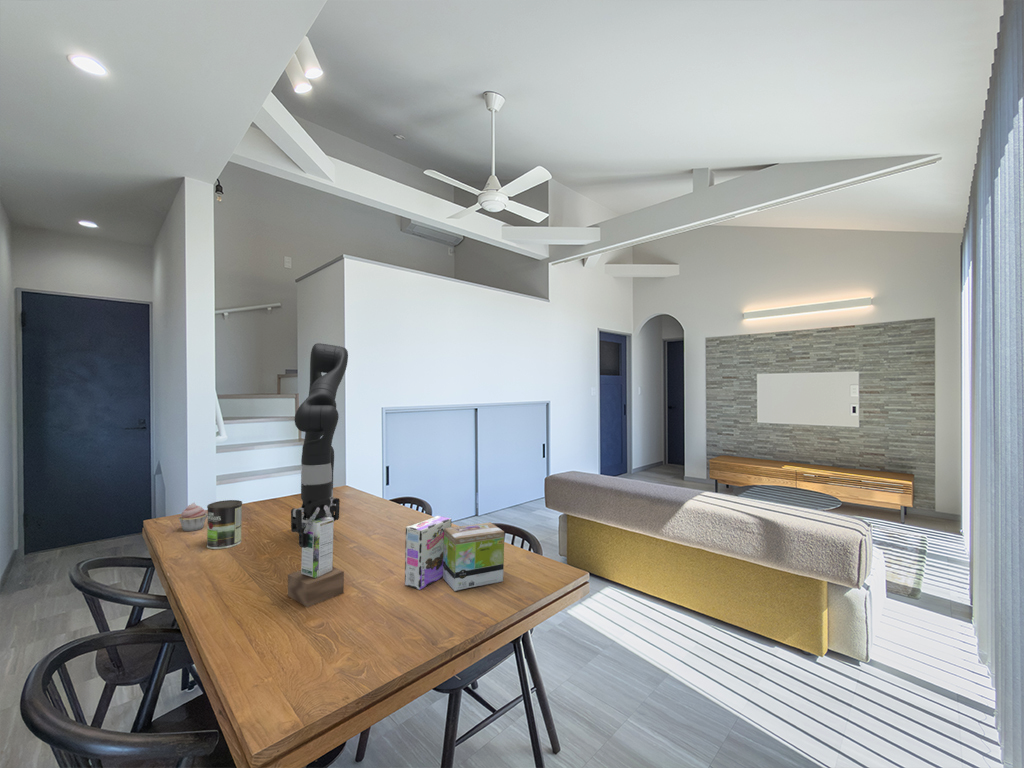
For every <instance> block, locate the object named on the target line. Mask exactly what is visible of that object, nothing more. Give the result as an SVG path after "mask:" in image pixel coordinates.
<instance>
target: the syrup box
mask: <svg viewBox="0 0 1024 768" xmlns="http://www.w3.org/2000/svg"><path fill="white" fill-rule="evenodd" d="M306 520H309V519H307V518H306ZM333 522H334V523H335V521H334V518H330V517H325V516H324V517H323V518H318V519H317V520H314V522H313V524H312V525H310V527H309V530H308V532H307V533H308V547H306V548H303V547H301V569H300V570H301V574H304V575H307V576H310V577H313V578H317V577H320V576H322V575H324V574H326V573H328V572H330V571H332V567H333V561H334V560H333V556H334V554H333V552H334V523H333ZM305 525H306V524H305ZM304 527H305V526H304Z"/></svg>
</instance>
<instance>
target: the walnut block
mask: <svg viewBox="0 0 1024 768" xmlns="http://www.w3.org/2000/svg"><path fill="white" fill-rule="evenodd" d="M344 572H345V571H343V570H341V569H339V568H336V567H334V566H332V571H330V572H328V573H326V574H324V575H322V576H320V577H317V578H313V577H310V576H307V575H304V574H301V569H300V570H299V569H298V570H297V571H294V572H291V573H288V574H287V596H288V597H289V598H291V599H292V600H293V601H295V602H297V603H299V604H301V605H302V606H304V607H306V608H310V607H312V606H314V605H317V604H319V603H322V602H325V601H327V600H330V599H333V598H335V597H337V596H340V595H342V594H344V591H345V590H344V589H345V588H344V585H345V583H344V580H345V579H344V578H345V576H344V575H345V573H344Z"/></svg>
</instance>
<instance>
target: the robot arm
mask: <svg viewBox="0 0 1024 768" xmlns="http://www.w3.org/2000/svg"><path fill="white" fill-rule="evenodd" d="M348 358H349V352H348V349H347V348H346V347H343V346H340V345H334V344H328V343H320V342H318V343H315V344H313V346H312V348H311V351H310V358H309V388H308V389H309V390H308V391H309V392H308V396H307V397H306V399H305V400H304V401H303V402H302V403H301V404H300V405H299V406H298V408H297V410H296V411H295V414H294V425H295V427H296V428H297V430H299V431H301V432H305V433H304V440H303V444H302V452H301V459H300V460H301V470H300V471H301V472H300V500H301V501H302V504H301V507H299V508H292V509H290V525H291V526H290V527H291V529H290V531H291V533H297V534H298V545H299V547H300V548H302V547H303V548H306V547H308V533H307V532H308V530H309V527H310V525H312V524H313V522H314V520H317V519H318V518H323V517H324V516H325V517H330V518H334V522H333V524H335V522H336V521H338V520H340V519H339V518H340V505H341V504H340V501H341V500H340V498H338V497H334V466H335V449H334V447H333V446H332V445H333V438H334V435H335V432H336V428H337V426H338V422H339V419H340V418H339V417H340V416H339V415H340V414H339V412H338V409H337V402H336V398H337V397H336V396H337V392H338V389H339V386H340V384H341V382H342V379H343V377H344V375H345V373H346V370H347V367H348V362H349V361H348V360H349V359H348ZM322 373H323V375H322ZM306 518H307V519H309V520H306ZM305 524H306V525H305ZM304 526H305V527H304Z"/></svg>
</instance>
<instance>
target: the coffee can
mask: <svg viewBox="0 0 1024 768" xmlns="http://www.w3.org/2000/svg"><path fill="white" fill-rule="evenodd" d="M206 508H207V515H208V516H207V522H206V523H207V525H206V526H207V530H206V531H207V532H206V536H207V537H206V548H207V549H209V550H222V549H223V550H224V549H229V548H233V547H235V546H238V545H240V544H241V543H242V521H243V520H242V517H243V516H242V515H243V514H242V513H243V512H242V511H243V510H242V509H243V501H242V500H238V499H237V500H236V499H229V500H228V499H227V500H226V499H225V500H219V501H214V502H211V503H209V504H207V505H206Z"/></svg>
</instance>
